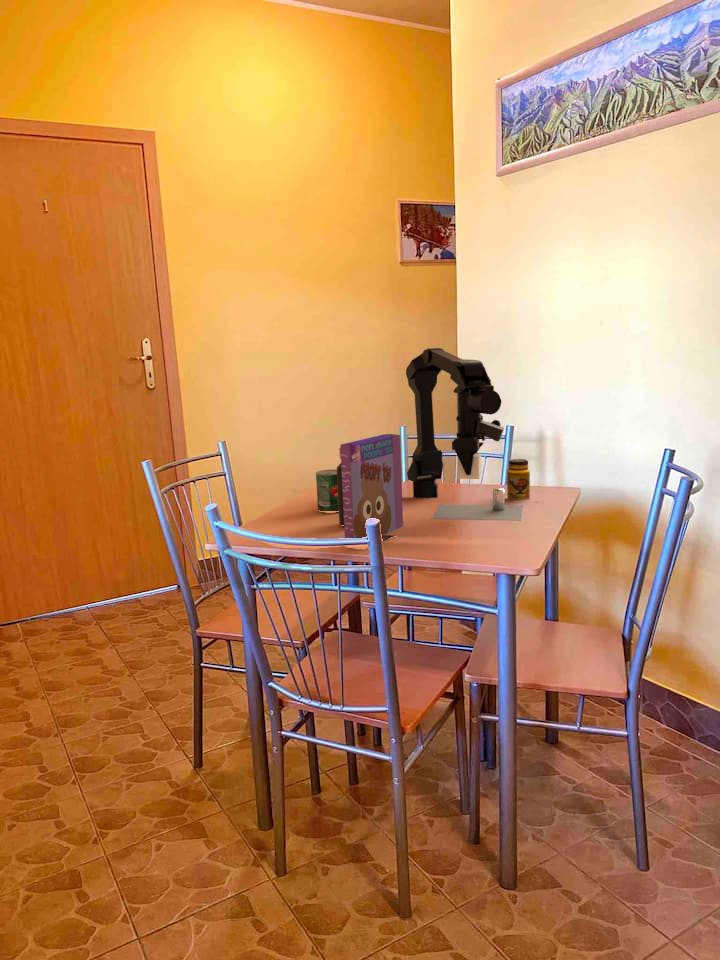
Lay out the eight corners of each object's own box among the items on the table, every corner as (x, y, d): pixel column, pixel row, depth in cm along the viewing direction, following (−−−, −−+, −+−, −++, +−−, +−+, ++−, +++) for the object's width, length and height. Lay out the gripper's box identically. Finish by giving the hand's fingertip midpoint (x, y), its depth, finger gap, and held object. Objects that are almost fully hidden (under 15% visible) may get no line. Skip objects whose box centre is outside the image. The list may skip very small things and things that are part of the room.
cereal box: (362, 550, 159) (357, 444, 154) (345, 547, 162) (340, 443, 157) (403, 532, 173) (400, 434, 168) (386, 529, 176) (383, 433, 171)
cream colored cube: (458, 478, 179) (457, 456, 178) (461, 474, 184) (460, 453, 183) (478, 478, 177) (478, 456, 176) (481, 475, 182) (481, 453, 181)
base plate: (431, 524, 179) (431, 518, 178) (440, 509, 194) (440, 504, 194) (520, 526, 173) (520, 520, 173) (522, 511, 188) (522, 505, 188)
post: (492, 512, 184) (492, 490, 183) (493, 509, 187) (493, 487, 186) (504, 512, 183) (504, 490, 182) (504, 510, 186) (504, 487, 185)
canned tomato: (320, 507, 203) (318, 469, 201) (347, 506, 202) (345, 468, 200) (315, 514, 195) (313, 474, 193) (344, 513, 194) (342, 474, 192)
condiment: (517, 506, 194) (517, 463, 192) (496, 501, 201) (496, 459, 199) (537, 502, 198) (537, 460, 195) (515, 497, 205) (515, 456, 202)
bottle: (369, 521, 184) (365, 445, 180) (361, 528, 178) (358, 449, 174) (344, 521, 186) (340, 445, 182) (335, 527, 180) (331, 449, 176)
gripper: (498, 415, 166) (498, 480, 169) (504, 407, 184) (505, 466, 187) (451, 415, 169) (452, 480, 172) (461, 408, 187) (462, 466, 190)
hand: (469, 473), depth 180 cm, fingers closed on cream colored cube, 5 cm apart
